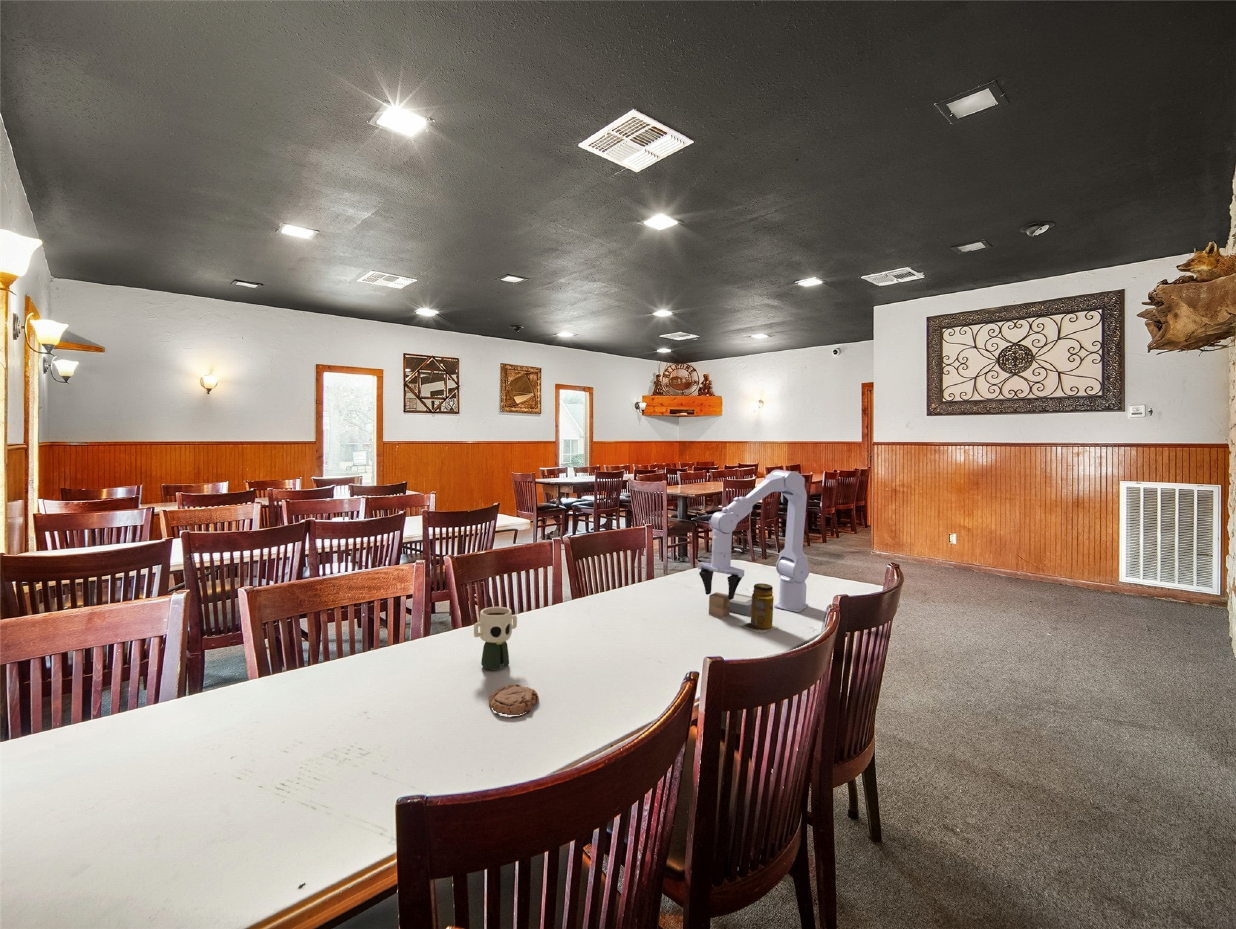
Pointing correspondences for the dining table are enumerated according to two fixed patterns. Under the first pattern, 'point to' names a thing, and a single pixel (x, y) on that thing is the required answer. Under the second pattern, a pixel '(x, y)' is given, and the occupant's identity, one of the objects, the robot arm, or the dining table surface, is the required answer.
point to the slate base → (741, 604)
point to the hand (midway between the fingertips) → (719, 596)
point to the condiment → (761, 609)
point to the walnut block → (719, 605)
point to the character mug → (495, 635)
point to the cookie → (513, 699)
